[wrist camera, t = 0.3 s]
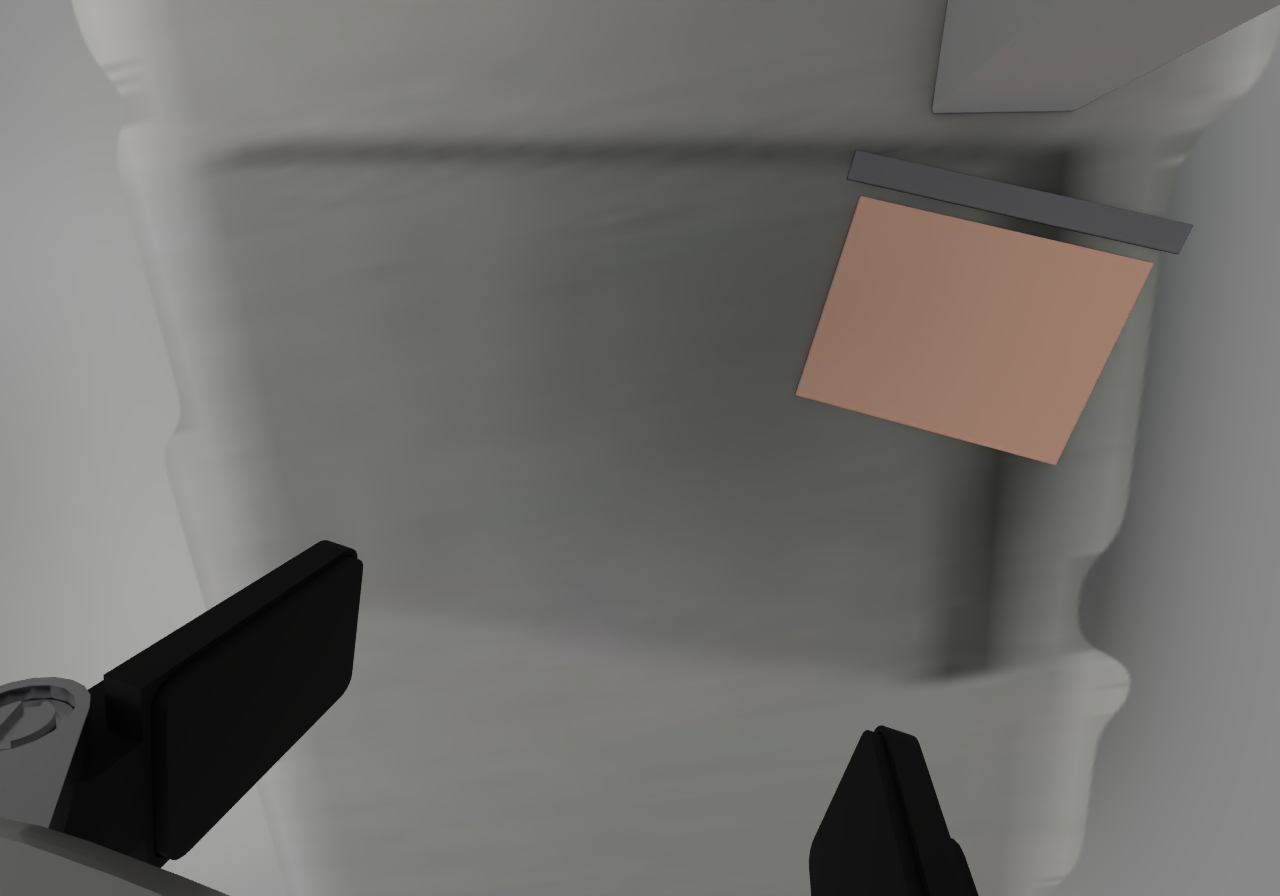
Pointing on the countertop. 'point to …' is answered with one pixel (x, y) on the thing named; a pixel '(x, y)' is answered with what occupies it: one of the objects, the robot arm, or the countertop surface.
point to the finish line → (1020, 202)
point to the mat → (968, 328)
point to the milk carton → (1067, 48)
